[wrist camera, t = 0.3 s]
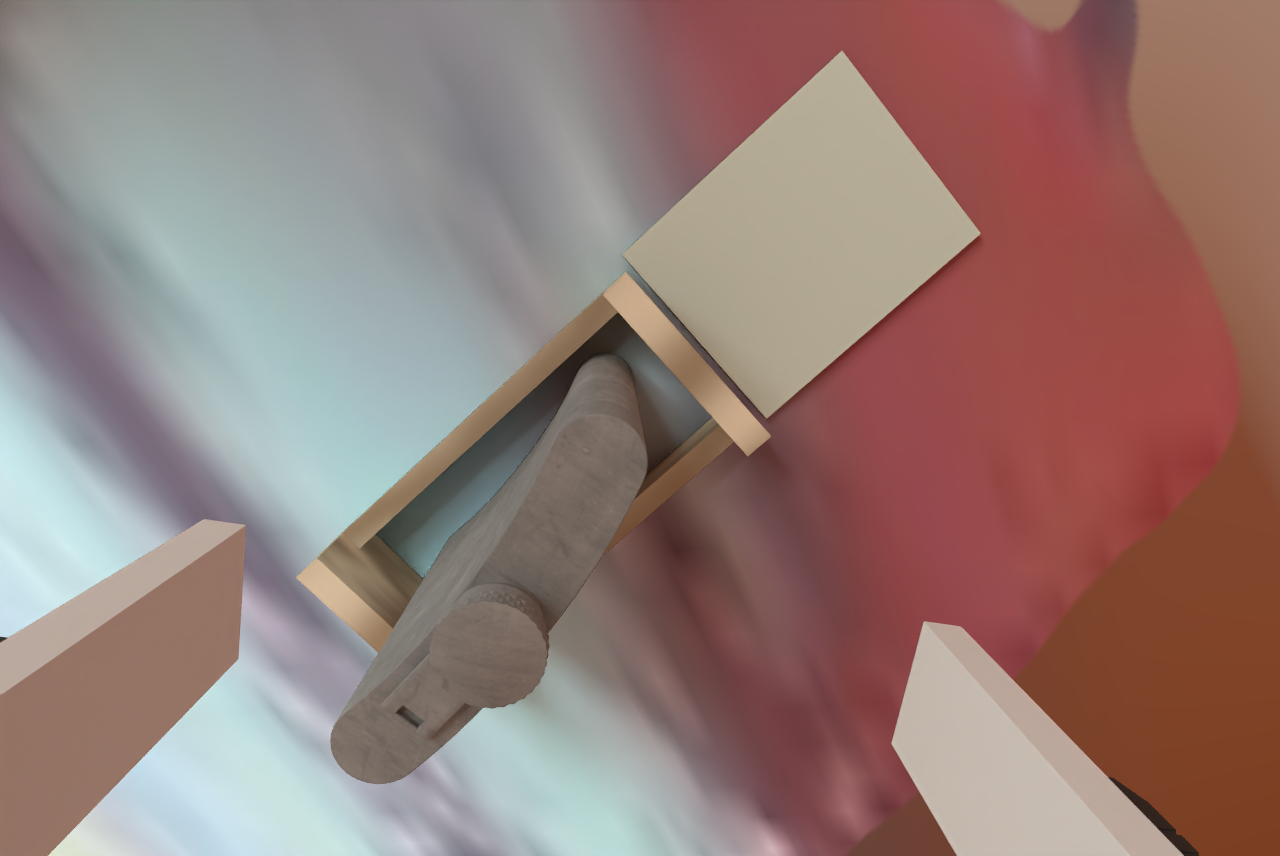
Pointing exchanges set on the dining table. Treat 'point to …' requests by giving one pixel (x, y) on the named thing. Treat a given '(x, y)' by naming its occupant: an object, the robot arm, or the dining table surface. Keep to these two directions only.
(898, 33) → the dining table surface
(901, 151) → the mat
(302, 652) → the dining table surface
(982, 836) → the robot arm
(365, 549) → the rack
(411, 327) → the dining table surface
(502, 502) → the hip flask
